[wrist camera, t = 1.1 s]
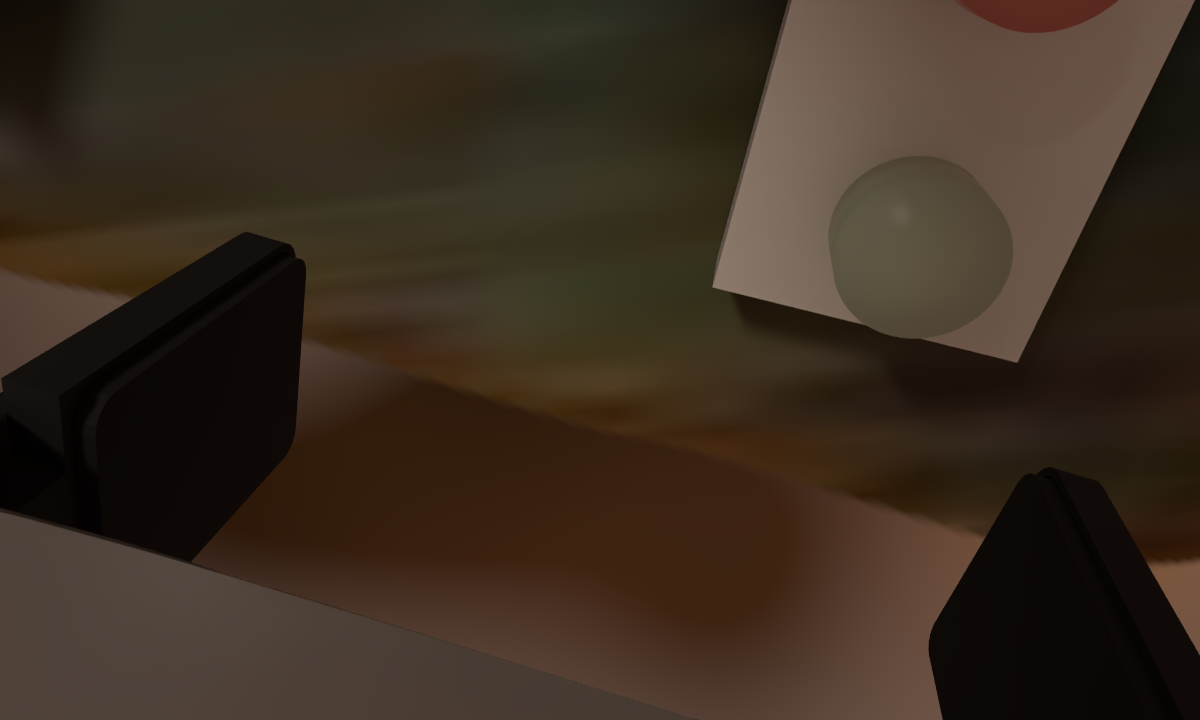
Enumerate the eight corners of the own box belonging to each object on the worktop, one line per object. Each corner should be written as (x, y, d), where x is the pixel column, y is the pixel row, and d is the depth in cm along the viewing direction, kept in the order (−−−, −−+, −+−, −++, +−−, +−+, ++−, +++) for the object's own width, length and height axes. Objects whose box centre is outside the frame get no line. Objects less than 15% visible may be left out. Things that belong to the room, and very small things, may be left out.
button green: (857, 139, 26) (865, 159, 24) (1020, 176, 26) (1043, 200, 24) (808, 285, 29) (811, 315, 27) (957, 322, 28) (972, 355, 26)
